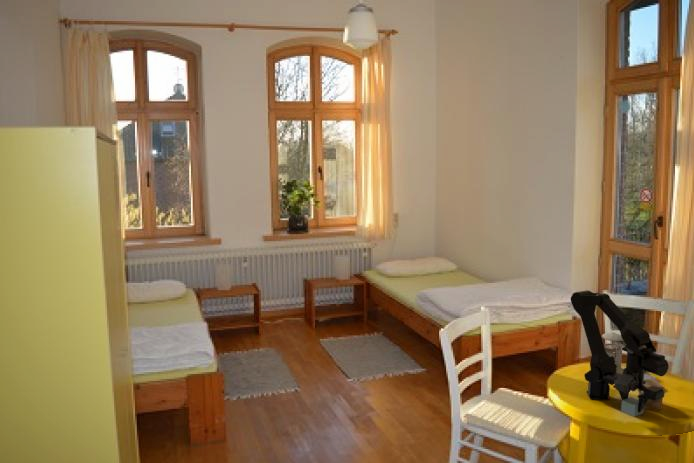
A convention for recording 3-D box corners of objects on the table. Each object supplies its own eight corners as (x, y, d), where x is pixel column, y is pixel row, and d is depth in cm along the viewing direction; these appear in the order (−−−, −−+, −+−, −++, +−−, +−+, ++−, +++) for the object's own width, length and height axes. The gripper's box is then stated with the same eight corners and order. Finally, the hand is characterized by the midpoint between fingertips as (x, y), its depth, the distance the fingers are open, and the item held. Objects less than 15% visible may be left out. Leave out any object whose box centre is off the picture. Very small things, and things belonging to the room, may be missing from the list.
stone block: (635, 395, 234) (661, 389, 233) (633, 382, 233) (659, 377, 233) (621, 383, 246) (646, 378, 245) (619, 371, 245) (645, 366, 245)
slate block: (621, 411, 216) (621, 400, 215) (629, 407, 219) (630, 396, 218) (634, 416, 212) (635, 405, 211) (643, 413, 214) (643, 402, 214)
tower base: (643, 408, 218) (644, 397, 218) (638, 401, 224) (638, 390, 224) (661, 409, 218) (662, 398, 217) (655, 401, 223) (656, 391, 223)
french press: (617, 364, 259) (621, 306, 255) (630, 375, 247) (634, 314, 243) (593, 364, 259) (597, 306, 255) (605, 375, 247) (609, 314, 243)
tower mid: (646, 398, 217) (647, 387, 217) (638, 391, 223) (638, 380, 222) (663, 398, 217) (664, 387, 217) (654, 390, 223) (655, 380, 223)
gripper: (596, 362, 216) (594, 405, 218) (647, 380, 200) (644, 425, 203) (616, 356, 222) (613, 397, 224) (667, 373, 206) (663, 417, 209)
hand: (632, 409), depth 215 cm, fingers closed on slate block, 5 cm apart
